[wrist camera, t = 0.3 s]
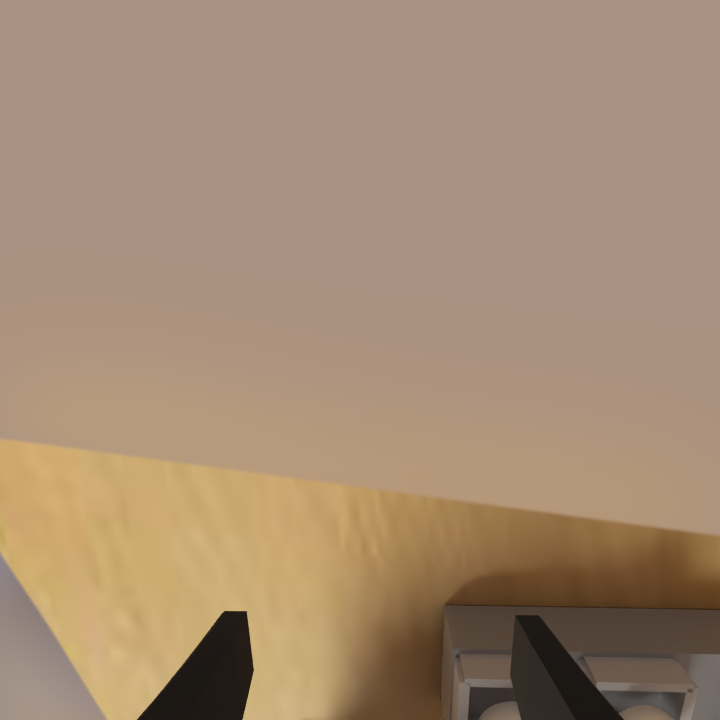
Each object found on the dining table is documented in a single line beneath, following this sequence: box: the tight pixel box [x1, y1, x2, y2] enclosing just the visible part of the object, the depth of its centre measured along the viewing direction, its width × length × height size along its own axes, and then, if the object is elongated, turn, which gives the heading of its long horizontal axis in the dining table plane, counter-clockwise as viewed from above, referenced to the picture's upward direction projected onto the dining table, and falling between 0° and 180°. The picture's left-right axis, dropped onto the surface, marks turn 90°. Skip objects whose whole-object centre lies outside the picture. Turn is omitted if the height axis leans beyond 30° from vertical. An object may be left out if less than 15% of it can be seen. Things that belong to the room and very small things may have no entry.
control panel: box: [441, 605, 720, 720], centre depth 21 cm, size 7×19×4 cm, turn 91°
